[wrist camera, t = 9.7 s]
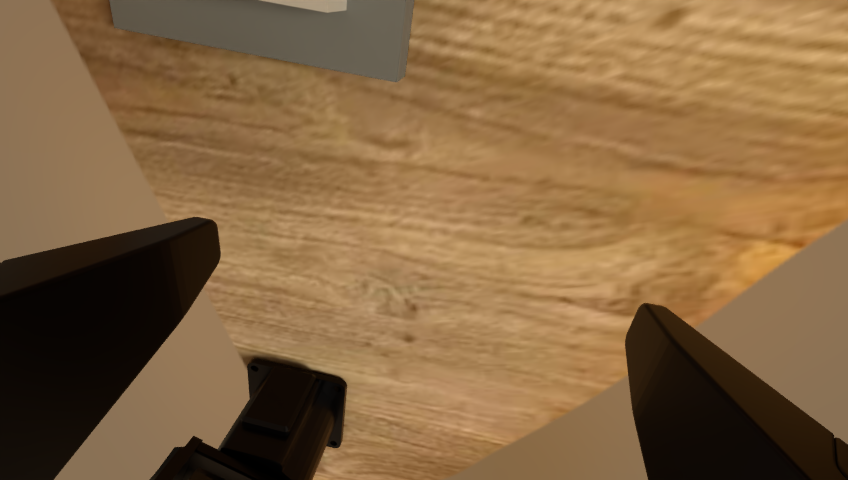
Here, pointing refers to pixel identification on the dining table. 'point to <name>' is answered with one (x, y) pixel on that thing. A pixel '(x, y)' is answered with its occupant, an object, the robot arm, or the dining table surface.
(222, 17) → the pocket board
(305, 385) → the robot arm
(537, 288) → the dining table surface
